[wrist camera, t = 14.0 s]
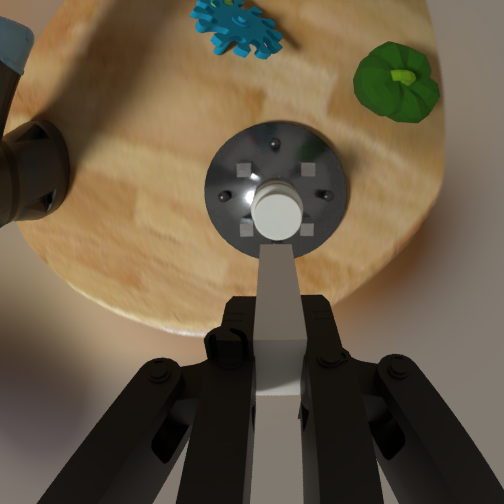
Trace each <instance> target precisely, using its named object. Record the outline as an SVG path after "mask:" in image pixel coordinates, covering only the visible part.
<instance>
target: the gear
mask: <svg viewBox="0 0 504 504" xmlns="http://www.w3.org/2000/svg"><path fill="white" fill-rule="evenodd" d="M243 4H244V2H243V1H242V0H232V1H228V0H198V2H197V3H196V7H195V8H194V9H193V11H192V12H191V14H190V17H192V18H195V19H199V20H198V22H197V23H196V25H195V28H196V30H197V32H199V33H205V32H217V33H215V34H214V35H213V37H212V38H211V40H210V41H211V42H212V43H213V44H214V45H215V46H216V48H215V49H214V53H215V54H216V55H221V54H222V53H223V52H224V50H225V49H226V48H227V46H228V45H229V44H230V43H231V41H237V42H239V44H238V45H237V46H236V47H235V49H234V50H233V52H234V53H235V54H237V55H239V56H241V57H243V58H245V57H246V56H247V55H248V54H249V52H250V51H251V49H250V46H249V44H252V45H254V46H255V47H256V48H257V50H256V51H255V56H256V57H257V58H260V59H267V58H268V57H269V56H270V55H271V53H272V54H275V53H277V52H278V51H279V50H281V49H282V48H283V47H282V46H281V45H280V44H279V43H278V42H279V41H280V40H281V39H282V38H283V35H282V34H281V33H280V32H278V31H274V30H272V29H273V28H274V27H275V26H276V24H275V22H274V21H273V20H272V19H269V18H268V19H264V18H260V17H259V16H260V15H261V14H262V11H261V10H260V9H258V8H257V7H255V6H254V7H252V8H251V9H241V7H242V5H243ZM264 43H265V44H266V45H267V47H266V46H265V44H264Z"/></svg>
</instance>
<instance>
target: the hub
mask: <svg viewBox="0 0 504 504" xmlns="http://www.w3.org/2000/svg"><path fill="white" fill-rule="evenodd" d="M272 175H280V176H283V177H286V178H288V179H289V180H290V181H291V182H292V183H293V184H294V186H295V188H296V190H297V192H298V194H299V196H300V197H301V200H302V203H303V215H302V222H301V225H300V227H299V229H298V230H297V232H296V233H295V234H294V235H292V236H291V237H289V238H287V239H284V240H272V239H269V238H267V237H265V236H263V235H262V234H261V233H260V232H259V231H258V230H257V228H256V226H255V223H254V220H253V218H252V215H251V204H252V200H253V196H254V192H255V189H256V187H257V185H258V184H259V182H260V181H261V180H263V179H264V178H266V177H268V176H272ZM204 189H205V203H206V208H207V211H208V214H209V217H210V219H211V221H212V223H213V225H214V227H215V228H216V230H217V231H218V232H219V234H220V235H221V236H222V237H223V238H224V239H225V240H226V241H227V242H228V243H229V244H230V245H232V246H233V247H234V248H236V249H237V250H239V251H241V252H242V253H245V254H247V255H249V256H252V257H255V258H259V255H260V244H291V245H292V250H293V255H294V258H297V257H300V256H303V255H305V254H307V253H310V252H311V251H313V250H315V249H316V248H318V247H319V246H320V245H322V244H323V243H324V242H325V241H326V240H327V239H328V238H329V237H330V236H331V235H332V233H333V232H334V231H335V229H336V228H337V226H338V224H339V222H340V220H341V218H342V215H343V213H344V209H345V205H346V198H347V186H346V180H345V175H344V172H343V169H342V166H341V164H340V162H339V160H338V158H337V157H336V155H335V154H334V152H333V151H332V150H331V148H330V147H329V146H328V145H327V144H326V143H325V142H324V141H323V140H322V139H320V138H319V137H318V136H316V135H315V134H313V133H311V132H309V131H307V130H305V129H303V128H300V127H298V126H295V125H290V124H285V123H267V124H261V125H256V126H253V127H250V128H247V129H245V130H243V131H241V132H239V133H237V134H236V135H235V136H233V137H232V138H230V139H229V140H228V141H227V142H226V143H225V144H224V145H223V146H222V147H221V148H220V149H219V151H218V152H217V153H216V155H215V156H214V158H213V160H212V162H211V164H210V166H209V169H208V172H207V175H206V180H205V188H204Z"/></svg>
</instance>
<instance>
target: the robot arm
mask: <svg viewBox="0 0 504 504" xmlns="http://www.w3.org/2000/svg"><path fill="white" fill-rule="evenodd" d="M33 44H34V34H33V32H32V31H31V30H30V29H29V28H28V27H26V26H24V25H22V24H20V23H18V22H15V21H13V20H10V19H7V18H4V17H1V16H0V228H1V227H3V226H4V225H6V224H8V223H10V222H12V221H25V220H38V219H41V218H43V217H45V216H47V215H49V214H51V213H53V212H54V211H55V210H56V209H57V208H58V207H59V206H60V204H61V203H62V201H63V199H64V197H65V194H66V191H67V187H68V182H69V157H68V152H67V148H66V144H65V142H64V139H63V137H62V135H61V133H60V132H59V130H58V129H57V128H56V127H55V126H54V125H53V124H51V123H50V122H48V121H44V120H38V121H30V122H27V123H24V124H22V125H20V126H19V127H17V128H16V129H14V130H12V131H11V132H9V133H8V134H6V135H5V136H3V133H4V129H5V125H6V121H7V117H8V114H9V110H10V107H11V104H12V100H13V97H14V94H15V91H16V88H17V86H18V83H19V80H20V77H21V75H22V76H23V74H24V67H25V64H26V61H27V59H28V56H29V54H30V51H31V49H32V47H33ZM204 344H205V349H206V353H207V358H208V359H207V360H205V361H203V362H201V363H198V364H194V365H189V366H183V367H180V366H179V365H178V363H177V362H175V361H173V360H172V359H169V358H157V359H153V360H150V361H148V362H146V363H145V364H144V365H143V366H142V367H141V368H140V369H139V371H138V372H137V373H136V374H135V376H134V377H133V378H132V379H131V381H130V382H129V383H128V384H127V386H126V387H125V388H124V390H123V391H122V392H121V394H120V395H119V396H118V397H117V399H116V400H115V401H114V403H113V404H112V405H111V406H110V407H109V409H108V410H107V411H106V413H105V414H104V415H103V417H102V418H101V419H100V420H99V422H98V423H97V424H96V425H95V427H94V428H93V429H92V431H91V432H90V433H89V435H88V436H87V437H86V438H85V440H84V441H83V442H82V444H81V445H80V446H79V448H78V449H77V450H76V452H75V453H74V454H73V456H72V457H71V458H70V459H69V461H68V462H67V464H66V465H65V466H64V467H63V469H62V470H61V471H60V473H59V474H58V475H57V477H56V478H55V479H54V481H53V482H52V483H51V485H50V486H49V488H48V489H47V490H46V492H45V493H44V494H43V496H42V497H41V498H40V500H39V501H38V503H37V504H152V503H153V502H154V500H155V498H156V497H157V495H158V493H159V491H160V490H161V488H162V486H163V484H164V483H165V481H166V479H167V477H168V475H169V474H170V472H171V470H172V468H173V467H174V465H175V463H176V461H177V460H178V458H179V456H180V454H181V452H182V451H183V449H184V447H185V445H186V443H187V441H188V440H189V444H188V448H187V453H186V458H185V462H184V466H183V471H182V476H181V481H180V485H179V490H178V495H177V500H176V504H250V494H251V479H252V464H253V448H254V433H255V414H256V401H255V400H256V395H299V394H300V391H301V404H300V409H299V414H298V419H300V421H301V438H302V439H301V440H302V463H303V492H304V493H303V495H304V504H384V501H383V494H382V488H381V482H380V476H379V471H378V465H377V461H378V463H379V465H380V466H381V468H382V471H383V473H384V475H385V477H386V479H387V481H388V482H389V485H390V486H391V488H392V491H393V492H394V495H395V497H396V498H397V501H398V503H399V504H504V489H503V488H502V486H501V485H500V483H499V481H498V479H497V478H496V476H495V474H494V473H493V471H492V470H491V468H490V467H489V465H488V463H487V462H486V460H485V459H484V457H483V456H482V454H481V452H480V451H479V450H478V448H477V446H476V445H475V444H474V442H473V440H472V439H471V438H470V436H469V435H468V433H467V432H466V430H465V429H464V427H463V426H462V425H461V423H460V422H459V421H458V419H457V418H456V416H455V415H454V413H453V412H452V411H451V409H450V408H449V407H448V405H447V404H446V403H445V401H444V400H443V398H442V397H441V396H440V394H439V393H438V392H437V391H436V389H435V388H434V387H433V385H432V384H431V383H430V381H429V380H428V379H427V378H426V377H425V375H424V374H423V372H422V371H421V370H420V369H419V367H418V366H417V365H416V364H415V362H413V361H412V360H411V359H410V358H408V357H406V356H404V355H400V354H392V355H387V356H385V357H383V358H382V359H381V360H380V362H379V363H378V364H375V363H369V362H363V361H359V360H356V359H354V358H352V357H351V355H350V354H349V352H348V351H347V350H345V349H344V348H343V347H342V344H341V340H340V337H339V333H338V330H337V326H336V323H335V320H334V316H333V313H332V310H331V306H330V303H329V301H328V300H327V299H326V298H325V297H324V296H323V295H300V290H299V284H298V278H297V272H296V267H295V261H294V255H293V250H292V245H291V244H260V255H259V269H258V282H257V295H256V296H233V297H232V298H231V299H230V300H229V301H228V302H227V303H226V306H225V310H224V314H223V319H222V323H221V326H220V327H217V328H214V329H212V330H211V331H210V332H208V333H207V335H206V336H205V338H204ZM189 438H190V439H189ZM376 459H377V460H376Z"/></svg>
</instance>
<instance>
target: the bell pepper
mask: <svg viewBox="0 0 504 504" xmlns="http://www.w3.org/2000/svg"><path fill="white" fill-rule="evenodd" d="M430 75H431V68H430V65H429V63H428V60H427V57H426V55H424V54H422V53H420V52H418V51H416V50H414V49H412V48H409V47H407V46H404V45H401V44H398V43H394V42H389V41H388V42H386V43H384V44H382V45H380V46H379V47H377V48H375V49H374V50H372V51H371V52H370V53H369V55H368V56H367V57H365V58H364V59H363V60H362V61H361V62H360V64H359V66H358V68H357V71H356V73H355V75H354V78H353V83H354V93H355V95H356V97H357V98H358V100H359V102H360V103H361V104H362V105H364V106H365V107H367V108H368V109H370V110H371V111H373V112H374V113H375V114H377V115H379V116H387V117H388V118H390V119H392V120H394V121H396V122H407V123H419V122H420V121H421V120H423V119H424V118H425V117H426V116H428V115H429V113H430V112H431V111H432V109H433V107H434V106H435V104H436V102H437V101H438V99H439V97H440V94H439V88H438V84H437V83H436V82H435V81H434V80H432V79H431V78H430Z"/></svg>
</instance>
